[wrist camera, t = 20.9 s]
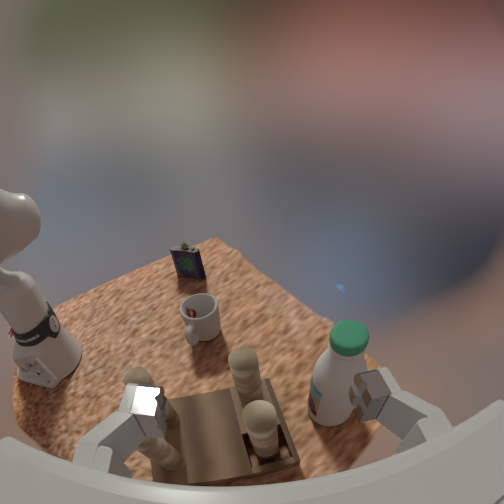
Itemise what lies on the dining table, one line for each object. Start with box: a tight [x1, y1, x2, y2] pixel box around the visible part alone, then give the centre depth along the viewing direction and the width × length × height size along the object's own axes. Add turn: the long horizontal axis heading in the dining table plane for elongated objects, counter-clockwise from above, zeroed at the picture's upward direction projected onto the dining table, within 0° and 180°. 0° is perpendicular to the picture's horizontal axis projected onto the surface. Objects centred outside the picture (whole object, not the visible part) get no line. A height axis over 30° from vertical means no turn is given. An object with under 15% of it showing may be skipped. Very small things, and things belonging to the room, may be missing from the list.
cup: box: [179, 293, 221, 345], centre depth 54 cm, size 11×8×8 cm
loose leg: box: [242, 400, 279, 461], centre depth 29 cm, size 4×4×16 cm
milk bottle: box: [308, 320, 369, 426], centre depth 33 cm, size 8×8×20 cm
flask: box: [170, 241, 206, 280], centre depth 73 cm, size 9×3×11 cm, turn 71°
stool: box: [124, 347, 300, 486], centre depth 31 cm, size 22×16×16 cm
